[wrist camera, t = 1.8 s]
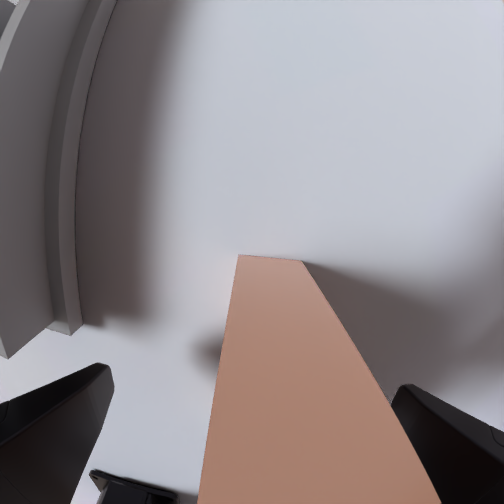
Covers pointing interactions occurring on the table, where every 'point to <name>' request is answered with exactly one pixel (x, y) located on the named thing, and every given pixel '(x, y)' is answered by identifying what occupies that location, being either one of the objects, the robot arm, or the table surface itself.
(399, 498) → the terracotta plate
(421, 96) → the table surface
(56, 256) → the dish rack
